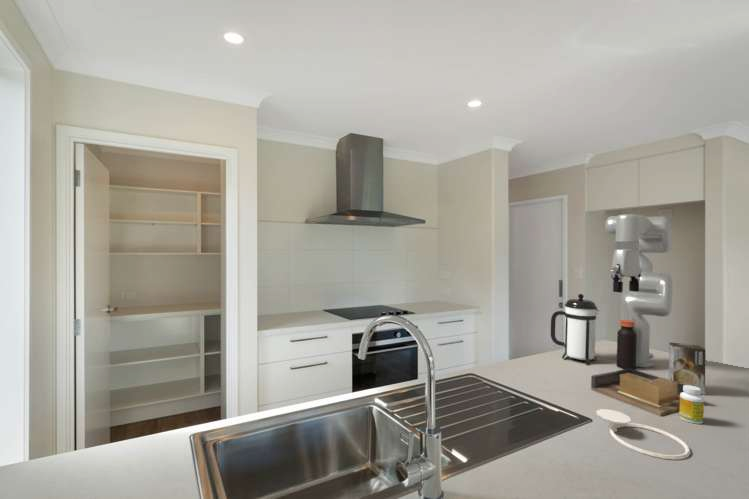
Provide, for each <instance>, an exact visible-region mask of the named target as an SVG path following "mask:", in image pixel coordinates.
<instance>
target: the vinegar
mask: <svg viewBox="0 0 749 499" xmlns="http://www.w3.org/2000/svg"><path fill="white" fill-rule="evenodd" d="M619 321H620V323H619V326H620V329H618V330H617V333H616V334H617V335H616V336H617V338H616V367H618V368H619V369H621V370H624V369H629V368H630V369H634V370H637V369H636V368H637V367H636V340H637V334H636V332H635V331H634V330H633V328H634V321H631V320H624V319H620V320H619Z"/></svg>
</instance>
